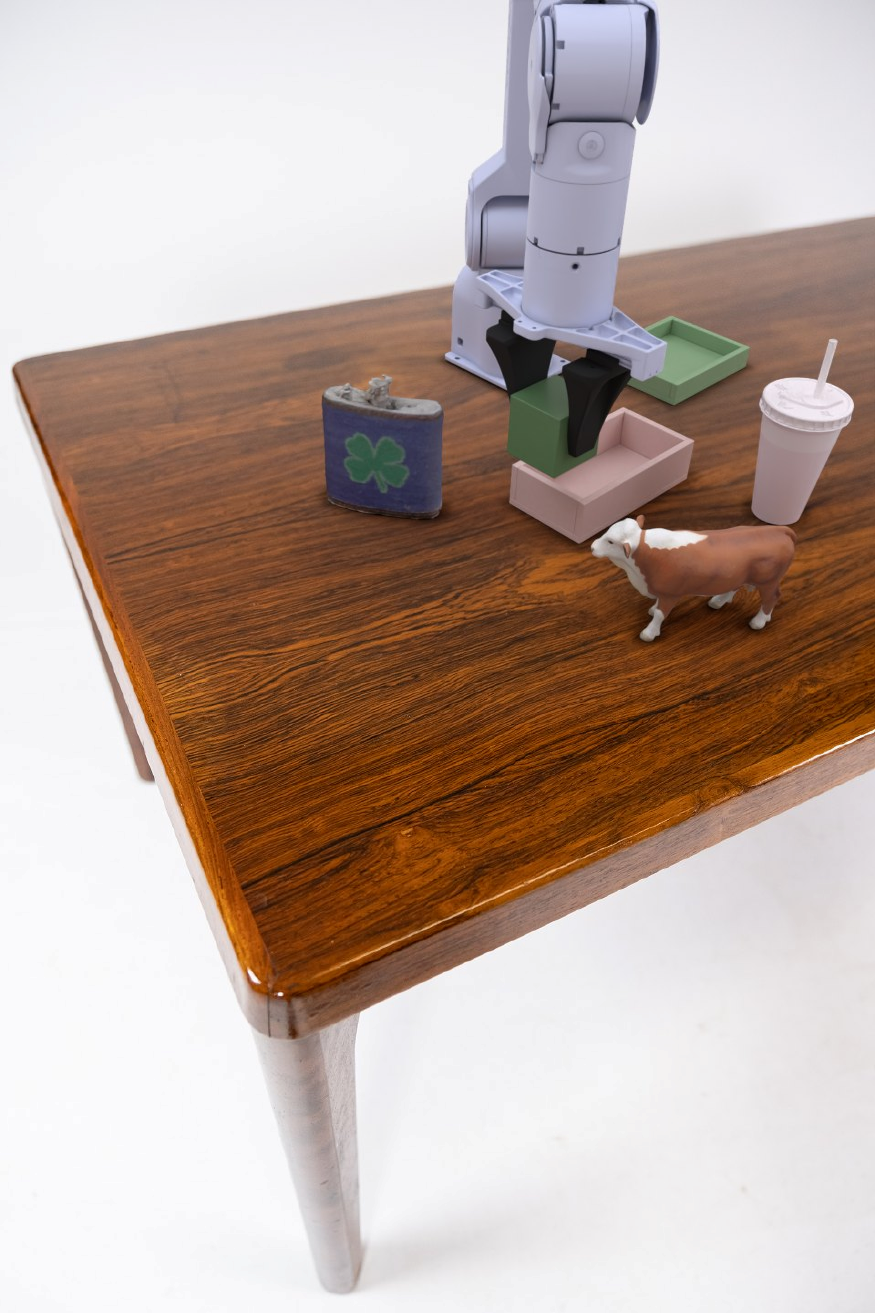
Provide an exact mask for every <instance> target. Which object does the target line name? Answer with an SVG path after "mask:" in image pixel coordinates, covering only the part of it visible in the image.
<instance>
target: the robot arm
mask: <svg viewBox="0 0 875 1313" xmlns="http://www.w3.org/2000/svg"><path fill="white" fill-rule="evenodd" d="M658 10H659V9H658V5H657V3H656V2H655V1H654V0H508V18H507V21H508V22H507V37H506V39H507V40H506V58H505V61H506V62H505V82H504V100H503V101H504V104H503V125H502V126H503V127H502V143H501V144H502V146H501V148H500V149H499V150H498V151H496V152H495V153H494V154H493V155H491V156H490V157H489V158H488V159H486V160H485V161H484V162H482V163H481V164H480V165H478V166H477V167H476V168H474V170H473V171H472V172H471V175H470V178H469V179H468V181H467V199H466V202H465V213H464V214H465V215H464V260H465V261H464V262H465V265H464V266H463V267H462V269H461V270H460V271H459V273H458V275H457V277H456V280H455V282H454V286H453V290H452V298H451V299H452V300H451V302H452V303H451V306H452V307H451V342H450V343H451V347H450V348H451V350H450V351H448V352H446V353H444V359H445V360H446V361H447V362H449V363H451V364H454V365H455V366H458V367H460V368H462V369H463V370H466V371H468V372H469V373H471V374H474V375H475V376H477V377H479V378H481V379H483V380H485V381H487V382H490V383H491V384H493V385H495V386H497V387H499V388H501V389H503V390H505V391H506V392H507V396H508V400H509V402H510V399H511V395H512V394H514V393H516V392H518V391H521V390H523V389H525V388H527V387H529V386H531V385H533V384H536V383H538V382H540V381H542V380H544V379H546V378H548V377H550V376H553V375H555V374H556V375H558V376H559V375H560V374H562V376H563V377H562V378H564V381H565V384H566V390H567V396H568V407H569V419H568V430H567V447H568V454H569V455H571V456H572V457H574V458H577V457H579V456H581V455H582V454H584V453H586V452H588V451H590V450H592V449H594V447H595V444H596V441H597V439H598V436H599V434H600V431H601V429H602V426H603V424H604V422H605V420H606V418H607V416H608V415H609V414H610V412H611V410H612V408H613V406H614V404H615V403H616V401H617V399H618V398H619V396H620V395H621V393H622V392H623V391H624V389H625V388H626V386H627V385H628V384H627V383H628V382H629V380H630V379H631V378H632V377H633V378H635V379H638V380H640V381H645V380H646V379H648V378H651V377H653V376H655V375H656V374H658V373H660V372H662V371H663V365H664V360H665V354H666V349H667V342H665V341H663V340H661V339H659V338H657V337H655V336H653V335H651V334H650V333H648V332H647V331H646V330H644V328H643V327H642V326H641V325H639V324H638V323H637V322H636V321H634V320H633V319H632V318H630V317H629V316H628V315H626V313H624V312H623V311H622V310H620V309H619V308H618V307H617V306H615V305H614V299H615V298H614V297H615V292H616V291H615V290H616V283H617V276H618V269H619V261H620V254H621V247H622V240H623V234H624V233H623V232H624V224H625V218H626V209H627V202H628V196H629V195H628V194H629V187H630V180H631V172H632V165H633V157H634V150H635V144H636V135H637V129H636V127H635V125H634V124H633V123H634V121H635V120H636V122H637V123H638V124H639V125H640V126H642V125H644V124H645V123H646V122H647V120H648V118H649V115H650V114H651V113H650V112H651V109H652V106H653V102H654V98H655V92H656V88H657V84H658V83H657V82H658V76H659V69H660V68H659V67H660V56H661V55H660V52H661V47H660V46H661V31H660V19H659V11H658ZM557 342H561V343H565V344H570V345H573V346H578V347H579V348H581V349H584V350H585V356H581V357H578V358H577V359H574V360H572V361H570V360H568V359H566V358H563V357H561V356H559V355H557V354H555V353H554V351H555V348H556V344H557Z"/></svg>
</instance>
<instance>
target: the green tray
mask: <svg viewBox="0 0 875 1313" xmlns="http://www.w3.org/2000/svg"><path fill="white" fill-rule="evenodd" d="M643 329H644V330H646V331H647V332H648V333H650V334H651V335H653V336H655V337H657V338H659V339H661V340H663V341H665V342H667V349H666V354H665V360H664V365H663V371H662V372H660V373H658V374H656V375H655V376H653V377H651V378H648V379H646V380H645V381H640V380H638V379H635V378H633V377H632V378H631V379H630V380H629V382H628V383H627V385H628V386H629V387H632V388H634V389H636V390H639V391H641V392H643V393H645V394H647V395H649V396H652V397H653V398H656V399H659V400H660V401H663V402H665V403H667V404H669V405H671V406H676V405H678V404H679V403H682V402H683V401H685V400H687V399H689V398H691V397H692V396H695V395H696V394H698V393H700V392H702V391H704V390H706V389H707V388H710V387H711V386H713V385H714V384H716V383H718V382H720V381H723V380H724V379H726V378H728V377H730V376H731V375H733V374H735V373H737V372H738V371H740V370H743V369H744V368H746V366H747V364H748V358H749V354H750V350H751V347H750V346H748V345H745V344H743V343H741V342H738V341H735V340H733V339H730V338H729V337H726V336H723V335H721V334H718V333H716V332H714V331H711V330H708V329H705V328H703V327H700V326H698V325H695V324H694V323H691V322H689V321H685V320H683V319H681V318H678V317H675V316H674V315H669V316H667V317H665V318H662V319H661V320H658V321H657V322H654V323H652V324H650V325H648V326H646V327H644V328H643Z"/></svg>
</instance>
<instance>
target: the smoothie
mask: <svg viewBox="0 0 875 1313" xmlns="http://www.w3.org/2000/svg"><path fill="white" fill-rule="evenodd" d="M838 342H839V341H838V340H837V339H835V338H831V339H829V340H828V343H827V347H826V350H825V353H824V357H823V361H822V363H821V366H820V371H819V373H818V378H817V379H815V378H809V377H785V378H780V379H776V380H773V381H771V382H769V383H768V384H767V385H766V386H765V387H764V388H763V391H762V395H761V398H760V399H759V403H758V405H759V408H760V412H761V413H762V416H761V422H760V432H759V442H758V447H757V448H758V449H757V456H756V464H755V465H756V466H755V473H754V482H753V484H754V485H753V490H752V500H751V501H752V502H751V507H750V508H751V512H752V514H753V515H754V516H755V517H756V518H757V519H759V520H761V521H763V522H765V523H768V524H771V525H775V526H787V525H792V524H794V523H796V522H798V521H799V520H800V518H801V516H802V514H803V512H804V510H805V508H806V506H807V503H808V501H809V500H810V497H811V495H812V493H813V491H814V488H815V487H816V484H817V482H818V480H819V478H820V477H821V474H822V471H823V469H824V467H825V465H826V463H827V461H828V459H829V457H830V455H831V452H832V450H833V448H834V446H835V445H836V442H837V440H838V438H839V436H840V434H841V431H842V429H843V428H845V427H846V426H848V425H849V424H850V422H851V421H852V414H853V411H854V408H855V404H854V400H853V399H852V397H851V396H850V395H849V394H848V393H847V392H846V391H845V390H844V389H842V388H840V387H838V386H836V385H833V384H832V383H829V382H827V379H828V375H829V373H830V369H831V366H832V363H833V359H834V355H835V352H836V348H837V346H838Z"/></svg>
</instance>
